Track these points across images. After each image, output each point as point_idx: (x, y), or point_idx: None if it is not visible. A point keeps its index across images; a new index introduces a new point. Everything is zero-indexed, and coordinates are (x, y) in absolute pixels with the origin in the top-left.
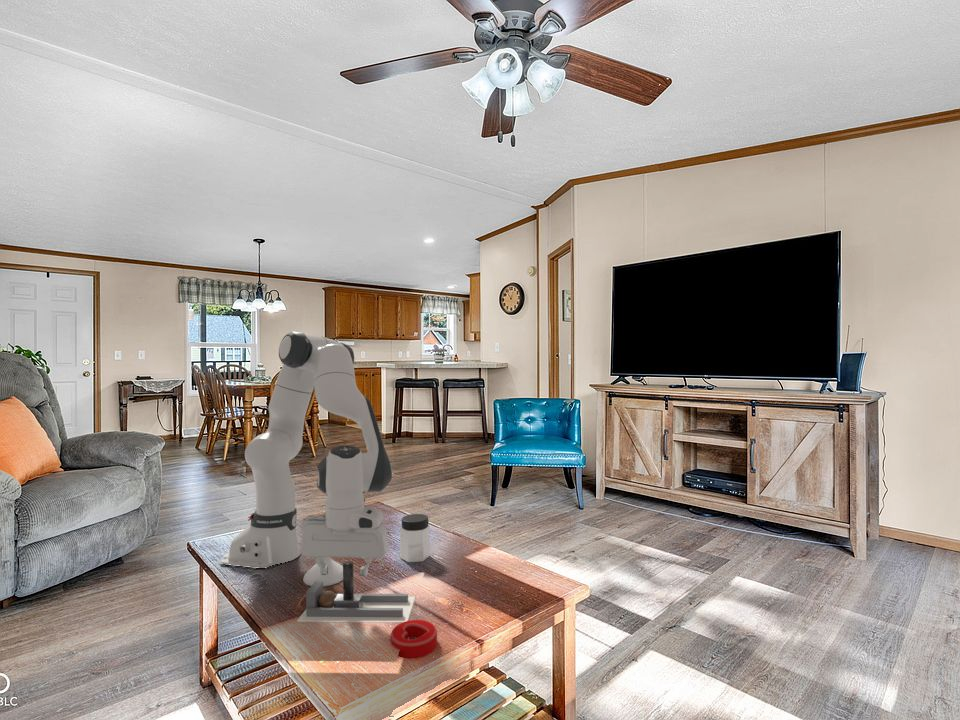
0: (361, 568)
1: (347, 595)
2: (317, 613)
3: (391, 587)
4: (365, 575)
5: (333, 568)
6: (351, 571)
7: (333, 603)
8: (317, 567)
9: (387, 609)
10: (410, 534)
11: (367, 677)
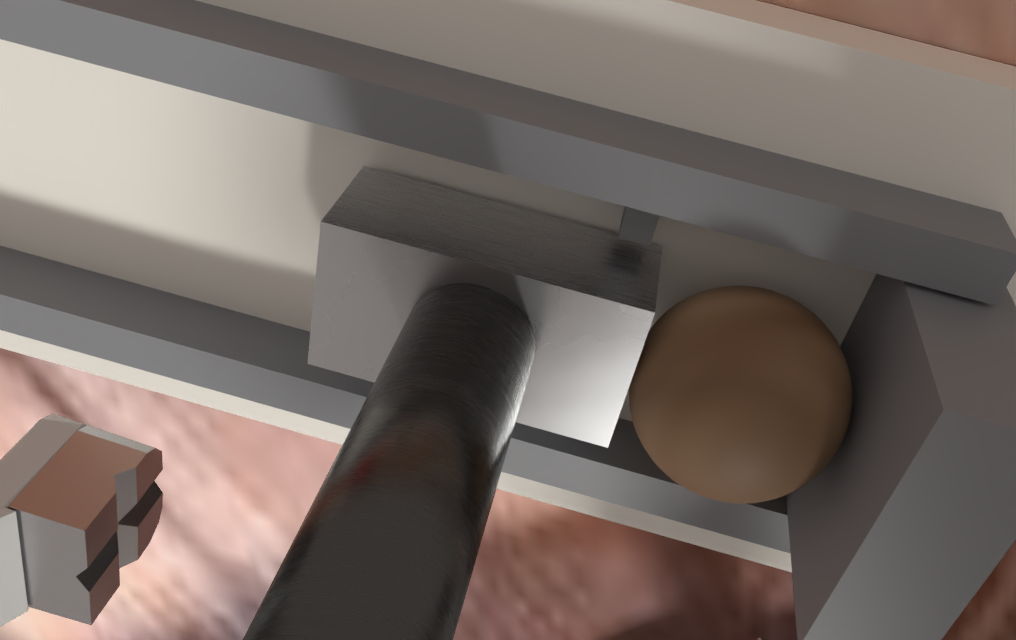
0: (64, 547)
1: (462, 316)
2: (868, 194)
3: (192, 560)
4: (52, 420)
5: None
6: (287, 563)
7: (662, 316)
8: None
9: None
10: None
11: None
